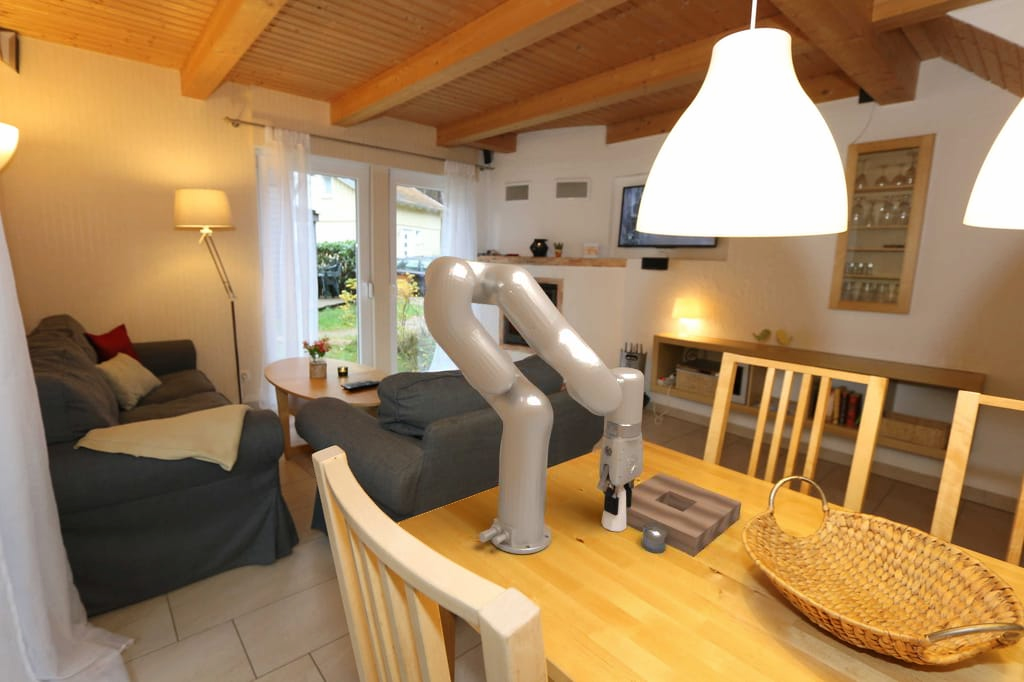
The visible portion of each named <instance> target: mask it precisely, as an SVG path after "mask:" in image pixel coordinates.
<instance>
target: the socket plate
mask: <svg viewBox="0 0 1024 682" xmlns="http://www.w3.org/2000/svg"><path fill="white" fill-rule="evenodd" d="M631 490H632V501H631V507H629V508H628V507H626V526H628V527H631V528H633V529H635V530H636V531H639V532H641V533H643V527H644V525H645V524H647V523H657V524H660V525H663V526H664V527H665V528H666V529H667V540H666V545H669V546H670V547H673V548H675V549H676V550H678V551H681V552H682V553H685V554H687V555H690V556H691V557H693V558H694V557H696V555H698V554H699V553H700V552H701V551H703V550H704V549H705V548H706V547H707V546H708V545H710V544H711V543H712V542H714V540H716V539H717V538H718V537H719V536H720V535H723V533H724V532H725V531H726V530H728V529H729V528H730V527H731V526H733V525H735V523H736V522H737V521H739V520H740V516H741V507H742V502H741V501H739V500H736V499H733V498H731V497H728V496H725V495H723V494H720V493H717V492H714V491H712V490H709V489H706V488H705V487H702V486H698V485H696V484H693V483H690V482H687V481H686V480H682V479H679V478H677V477H674V476H671V475H669V474H666V473H664V472H659V473H656V475H653V476H651V477H649V478H648V479H646V480H644V481H642V482H640V483H639V484H636V485H634V488H633V489H631Z"/></svg>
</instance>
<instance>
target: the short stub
mask: <svg viewBox="0 0 1024 682" xmlns="http://www.w3.org/2000/svg"><path fill="white" fill-rule="evenodd" d="M666 540H667V529H666V528H665V527H664V526H663V525H660V524H657V523H647V524H645V525H644V527H643V532H642V540H641V541H642V542H641V548H643V550H645V551H646V552H648V553H650V554H655V555H657V554H658V555H659V554H663V553H665V551H666V549H667V544H666Z"/></svg>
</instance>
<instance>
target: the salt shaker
mask: <svg viewBox="0 0 1024 682" xmlns="http://www.w3.org/2000/svg"><path fill="white" fill-rule="evenodd" d="M623 486H624V485H623ZM623 486H620V487H619V489H618V495H617V497H619V507H618V515H616V516H615V515H613V514H611V513H608V512H606V511H605V510H604V509H603V512H602V516H601V525H602V527H603V528H604V529H606V530H608V531H610V532H616V533H617V532H619V533H621V532H622V531H624V530H626V529H627V525H626V491H625V488H624V487H623ZM609 487H610V488H611V489H612V490H613V487H614V486H613V485H611V484H610V486H609Z"/></svg>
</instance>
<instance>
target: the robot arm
mask: <svg viewBox="0 0 1024 682" xmlns="http://www.w3.org/2000/svg"><path fill="white" fill-rule="evenodd" d="M424 283H425V286H426V288H425V293H424V297H423V315H424V321H425V324H426V325H425V326H426V328H427V329H428V332H429V334H430V335H431V337H432V338H433V340H434V341H435V343H437V345H438V347H440V348H441V350H442V351H443V352H444V353H445V354H446V355H447V356H448V358H449V359H450V361H451V362H452V363H453V364H454V365H455V366H456V367H457V369H459V371H460V372H461V374H462V375H463V377H464V378H465V379H466V381H467V383H468V384H469V385H470V386H471V387H472V388H473V389H475V390H476V391H477V392H478V394H480V395H481V396H482V397H483V398H484V400H485V401H486V402H487V403H488V404H489V405H490V406H491V407H492V409H494V411H495V412H496V413H497V415H498V416H499V417H500V420H501V421H502V424H503V425H502V426H503V429H502V435H501V439H500V440H501V441H500V446H499V447H500V448H499V460H498V461H499V469H498V497H497V499H498V500H497V517H495V518H493V524H491V526H490V528H489V529H486V530H483V531H480V533H478V538H479V541H480V542H481V543H487V542H488V541H490V542H491V543H492V544H493V545H494V546H495V548H498V549H499V550H502V551H504V552H506V553H507V552H508V553H509V554H510V553H511V554H517V555H526V554H527V555H529V554H534V553H537V552H541V551H543V550H545V548H547V547H548V546H549V544H550V543H551V541H552V531H551V529H550V527H549V526H548V525H547V524H546V523H545V518H546V517H545V515H546V514H545V513H546V496H547V494H546V493H547V475H548V457H549V455H548V454H549V448H550V447H549V445H550V439H551V434H552V431H553V424H554V410H553V407H552V404H551V402H550V399H549V398H548V397H547V396H546V394H545V393H544V392H543V391H541V389H539V388H538V387H537V386H536V385H535V384H533V383H532V382H531V381H530V380H529V379H528V378H527V377H526V376H525V375H524V374H523V372H522V371H520V369H519V368H518V367H517V366H516V364H515V363H514V361H513V358H512V357H511V355H510V353H508V351H507V350H506V349H505V348H503V347H502V346H501V345H500V344H499V343H498V342H497V341H496V340H495V339H494V338H493V336H492V335H491V334H490V333H489V332H488V331H487V329H486V328H485V327H484V325H483V324H482V322H480V320H479V319H478V318H477V317H476V315H475V313H474V311H473V306H472V304H476V305H477V304H478V305H479V304H480V305H488V306H496V307H497V308H498V309H499V310H500V311H501V313H503V315H504V316H505V317H506V318H507V320H508V321H509V323H511V325H512V326H513V327H514V328H515V330H516V332H518V333H519V334H520V336H521V337H522V339H524V341H525V342H526V343H527V345H528V346H529V348H531V349H532V351H533V352H535V354H536V355H537V356H538V357H539V358H540V359H542V360H543V361H544V362H546V364H548V365H549V366H551V368H553V369H554V371H556V372H557V373H558V374H559V375H560V376H561V377H562V378H563V379H564V380H565V389H566V391H567V393H568V395H569V396H570V397H571V398H572V399H573V400H575V402H577V403H578V404H579V405H581V406H582V407H584V408H585V409H587V410H588V411H589V412H590V413H591V414H593V415H596V416H601V417H604V420H603V421H604V423H603V425H604V426H603V438H602V443H601V450H600V456H599V464H598V465H599V467H598V470H599V471H598V476H599V477H598V478H599V481H598V483H597V486H596V487H597V488H598V489H599V490H601V491H602V493H603V495H604V505H603V511H604V510H605V511H606V512H608V513H611V514H613V515H615V516H616V515H618V507H619V497H617V495H618V489H619V487H620V486H623V485H624V486H623V487H624V488H625V491H626V507H628V508H629V507H631V501H632V490H631V489H633V488H634V486H635V480H636V479H637V478H639V477H640V476H641V475H642V473H643V469H644V468H643V466H644V442H643V440H644V439H643V436H642V435H643V434H642V420H643V408H644V389H645V375H644V374H643V372H642V371H641V370H639V369H636V368H632V367H625V366H623V367H622V366H618V367H613V368H608V367H607V365H606V364H605V363H604V362H603V360H602V359H601V358H600V356H599V355H597V353H596V352H595V351H594V350H593V349H592V348H591V347H590V345H588V343H587V342H585V340H584V339H583V338H582V337H581V335H580V334H579V333H578V332H577V331H576V330H575V329H574V327H572V325H570V324H569V322H568V321H567V320H566V318H565V317H564V315H562V313H561V311H559V310H558V308H557V307H556V306H555V304H554V303H553V302H552V300H551V299H550V297H549V296H548V295H547V294H546V293H545V291H544V290H543V288H542V287H541V286H540V284H539V283H538V281H537V280H536V279H535V277H533V275H532V274H531V273H530V272H529V271H527V270H526V269H525V268H523V267H522V266H519V265H515V264H504V263H503V264H502V263H493V262H484V261H479V260H472V259H466V258H461V257H457V256H450V255H445V256H439V257H436V258H435V259H433V260H432V261H431V262H430V263H428V265H427V267H426V269H425V271H424ZM611 485H613V486H614V487H613V490H612V489H611V488H610V486H611Z"/></svg>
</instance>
